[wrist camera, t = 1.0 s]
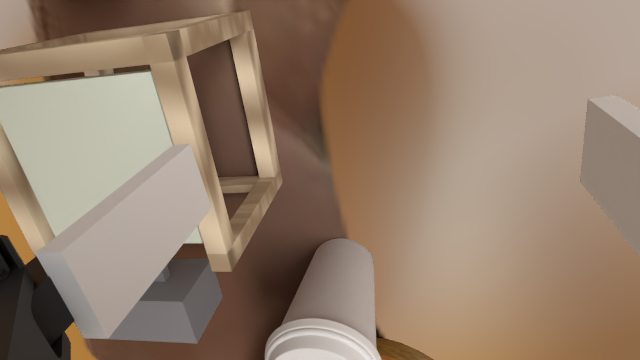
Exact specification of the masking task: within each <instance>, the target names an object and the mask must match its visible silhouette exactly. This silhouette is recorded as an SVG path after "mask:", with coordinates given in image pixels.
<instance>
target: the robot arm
mask: <svg viewBox="0 0 640 360" xmlns="http://www.w3.org/2000/svg"><path fill="white" fill-rule="evenodd" d="M586 113H587V114H586V123H585V134H584V145H583V156H582V166H581V176H580V182H581V183H582V185H583V186H584V187H585V188H586V190H587V191H588V192H589V193H590V195H591V196H592V197H593V198H594V200H595V201H596V202H597V203H598V205H599V206H600V207H601V209H602V210H603V211H604V212H605V213H606V215H607V216H608V217H609V219H610V220H611V221H612V222H613V224H614V225H615V226H616V227H617V229H618V230H619V231H620V232H621V234H622V235H623V236H624V237H625V239H626V240H627V241H628V242H629V244H630V245H631V246H632V247H633V249H634V250H635V251H636V253H637V254H638V255H639V256H640V109H638V108H637V107H635V106H634V105H632V104H630V103H629V102H627V101H626V100H624V99H623V98H621V97H619V96H618V95H615V96H606V97H597V98H589V99H588V102H587V112H586ZM211 208H212V207H211V204H210V201H209V198H208V195H207V192H206V189H205V187H204V184H203V181H202V178H201V175H200V172H199V169H198V166H197V163H196V160H195V157H194V154H193V151H192V148H191V145H190V144H184V145H176V146H171V147H170V148H169V149H167V150H166V151H165V152H163V153H162V154H161V155H160V156H158V157H157V158H156V159H155V160H153V161H152V162H151V163H149V164H148V165H147V166H146V167H144V168H143V169H142V170H141V171H139V172H138V173H137V174H135V175H134V176H133V177H132V178H130V179H129V180H128V181H127V182H125V183H124V184H123V185H121V186H120V187H119V188H118V189H116V190H115V191H114V192H113V193H111V194H110V195H109V196H107V197H106V198H105V199H104V200H102V201H101V202H100V203H99V204H97V205H96V206H95V207H93V208H92V209H91V210H90V211H88V212H87V213H86V214H85V215H83V216H82V217H81V218H79V219H78V220H77V221H76V222H74V223H73V224H72V225H71V226H69V227H68V228H67V229H65V230H64V231H63V232H62V233H60V234H59V235H58V236H57V237H55V238H54V239H53V240H51V241H50V242H49V243H48V244H46V245H45V246H44V247H43V248H41V249H40V250H39V251H37V252H36V253H35V254H36V257H35V258H34V259H33V260H31V261H30V262H29V263H28V264H26V265H25V264H24V263H23V261H22V259H21V258H20V256H19V255H18V253H17V251H16V249H15V248H14V246H13V244H12V243H11V241H10V239H9V238H8V236H4V235H0V360H71V359H70V357H71V356H70V355H71V354H70V352H71V351H70V348H71V347H70V346H71V345H70V344H71V343H70V341H69V339H68V337H67V335H66V333H65V332H64V331H65V330H66V329H67V328H68V327H69V326H70V325H71V324H72V323H73V322H75V324H76V326H77V327H78V329H79V331H80V333H81V334H82V336H83V338H97V339H108V338H109V337H110V336H111V335H112V333H113V332H114V331H115V330H116V328H117V327H118V326H119V325H120V323H121V322H122V321H123V319H124V318H125V317H126V316H127V314H128V313H129V312H130V311H131V309H132V308H133V307H134V306H135V304H136V303H137V302H138V300H139V299H140V298H141V297H142V295H143V294H144V293H145V292H146V290H147V289H148V288H149V287H150V285H151V284H152V283H153V282H154V280H155V279H156V278H157V276H158V275H159V274H160V273H161V271H162V270H163V269H164V268H165V266H166V265H167V264H168V263H169V261H170V260H171V259H172V257H173V256H174V255H175V254H176V252H177V251H178V250H179V249H180V247H181V246H182V245H183V244H184V242H185V241H186V240H187V238H188V237H189V236H190V235H191V233H192V232H193V231H194V230H195V228H196V227H197V226H198V225H199V223H200V222H201V221H202V220H203V218H204V217H205V216H206V214H207V213H208V212H209V211H210V209H211Z"/></svg>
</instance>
